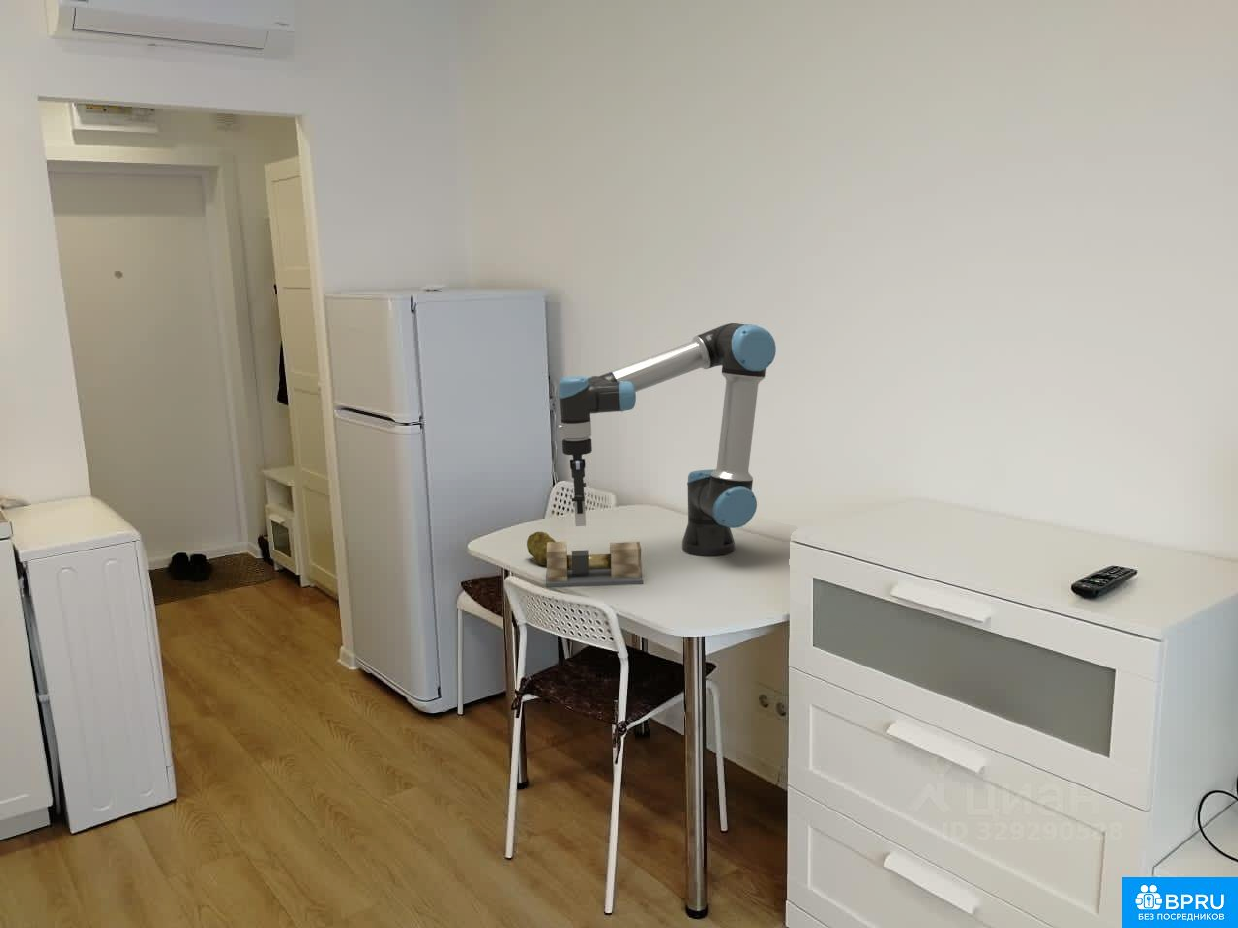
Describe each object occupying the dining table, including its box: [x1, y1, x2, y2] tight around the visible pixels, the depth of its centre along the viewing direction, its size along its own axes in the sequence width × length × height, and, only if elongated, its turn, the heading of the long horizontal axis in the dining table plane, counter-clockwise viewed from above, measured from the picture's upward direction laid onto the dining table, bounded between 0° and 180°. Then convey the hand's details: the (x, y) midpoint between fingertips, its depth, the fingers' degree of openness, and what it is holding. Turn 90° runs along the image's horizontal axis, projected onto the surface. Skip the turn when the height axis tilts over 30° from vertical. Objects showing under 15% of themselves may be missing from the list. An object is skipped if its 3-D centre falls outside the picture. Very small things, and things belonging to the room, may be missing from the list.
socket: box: [546, 541, 568, 582], centre depth 254 cm, size 5×9×8 cm, turn 3°
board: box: [545, 569, 644, 588], centre depth 255 cm, size 25×12×1 cm, turn 93°
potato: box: [526, 531, 557, 567], centre depth 270 cm, size 8×13×8 cm, turn 16°
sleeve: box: [609, 541, 643, 578], centre depth 255 cm, size 8×7×8 cm
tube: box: [566, 549, 611, 574], centre depth 255 cm, size 17×4×5 cm, turn 93°
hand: (580, 518), depth 252 cm, fingers open, 13 cm apart
